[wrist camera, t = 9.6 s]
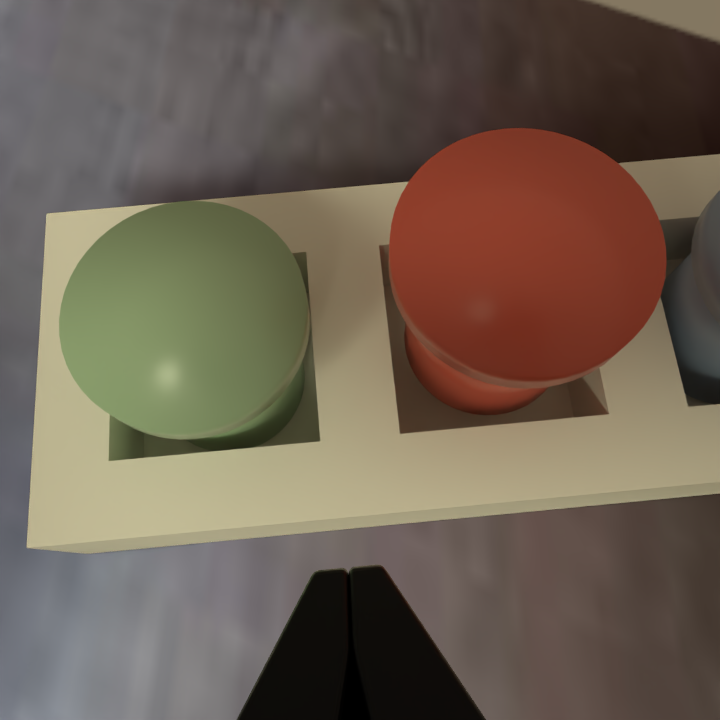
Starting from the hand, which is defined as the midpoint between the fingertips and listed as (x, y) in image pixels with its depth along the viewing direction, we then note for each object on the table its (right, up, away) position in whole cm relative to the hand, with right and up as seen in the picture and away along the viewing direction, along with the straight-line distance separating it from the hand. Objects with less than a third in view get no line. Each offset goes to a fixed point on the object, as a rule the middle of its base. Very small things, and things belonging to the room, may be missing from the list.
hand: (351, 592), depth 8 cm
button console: (+4, +3, +15) cm, 16 cm away
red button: (+4, +4, +12) cm, 13 cm away
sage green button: (-4, +2, +14) cm, 15 cm away
